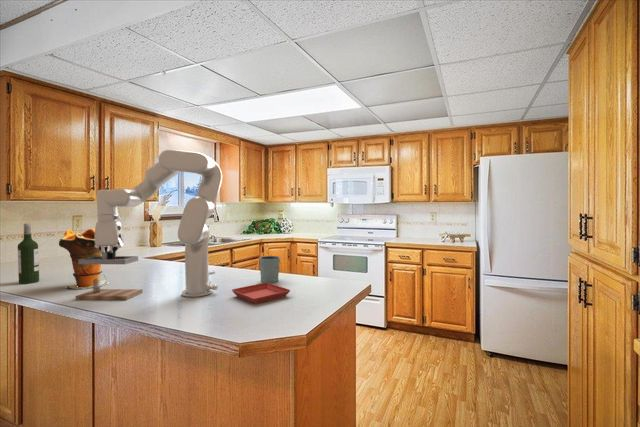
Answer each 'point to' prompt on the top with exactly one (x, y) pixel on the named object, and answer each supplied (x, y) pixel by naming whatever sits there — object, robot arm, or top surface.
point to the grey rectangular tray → (105, 259)
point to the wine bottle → (28, 258)
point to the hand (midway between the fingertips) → (109, 261)
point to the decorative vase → (79, 249)
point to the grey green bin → (269, 268)
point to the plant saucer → (260, 292)
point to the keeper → (108, 293)
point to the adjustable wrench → (212, 272)
